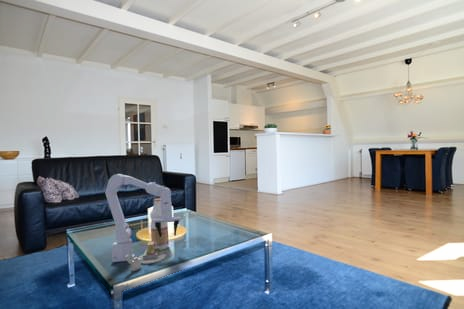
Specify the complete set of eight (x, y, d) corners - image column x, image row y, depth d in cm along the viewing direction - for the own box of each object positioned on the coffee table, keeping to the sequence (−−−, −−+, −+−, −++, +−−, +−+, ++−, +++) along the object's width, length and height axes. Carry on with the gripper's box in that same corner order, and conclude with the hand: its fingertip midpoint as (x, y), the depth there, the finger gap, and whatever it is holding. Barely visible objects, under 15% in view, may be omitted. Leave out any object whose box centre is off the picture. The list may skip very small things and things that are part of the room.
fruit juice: (148, 249, 158) (145, 200, 158) (161, 244, 166) (158, 197, 166) (159, 251, 153) (156, 200, 153) (172, 246, 161) (169, 198, 161)
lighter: (138, 267, 132) (137, 250, 132) (141, 267, 131) (140, 250, 131) (125, 272, 126) (124, 255, 126) (127, 273, 125) (126, 255, 125)
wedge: (147, 258, 140) (146, 244, 140) (149, 255, 145) (148, 242, 145) (153, 258, 140) (152, 244, 140) (155, 254, 145) (154, 241, 145)
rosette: (134, 265, 135) (133, 258, 135) (140, 255, 149) (140, 248, 149) (163, 262, 136) (163, 255, 136) (167, 252, 150) (166, 246, 150)
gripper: (151, 212, 145) (152, 239, 145) (179, 210, 146) (181, 236, 146) (153, 210, 152) (155, 235, 152) (180, 208, 153) (182, 232, 153)
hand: (167, 235), depth 149 cm, fingers open, 7 cm apart
